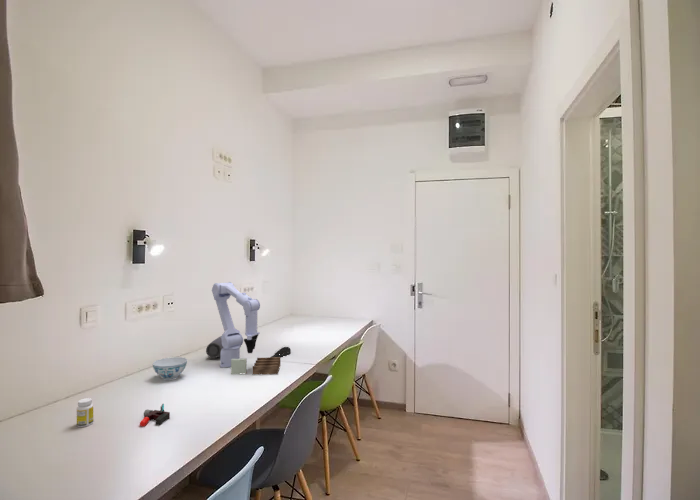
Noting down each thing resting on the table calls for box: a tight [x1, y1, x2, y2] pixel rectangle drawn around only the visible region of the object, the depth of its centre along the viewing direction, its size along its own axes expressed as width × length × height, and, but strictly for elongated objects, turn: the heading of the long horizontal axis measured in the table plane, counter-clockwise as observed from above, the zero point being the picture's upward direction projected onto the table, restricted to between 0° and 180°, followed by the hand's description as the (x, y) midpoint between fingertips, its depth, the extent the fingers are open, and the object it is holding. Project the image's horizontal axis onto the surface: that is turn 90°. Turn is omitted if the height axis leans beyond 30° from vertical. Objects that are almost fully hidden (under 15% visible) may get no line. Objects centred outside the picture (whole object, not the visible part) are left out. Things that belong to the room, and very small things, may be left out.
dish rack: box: [252, 356, 281, 375], centre depth 195 cm, size 12×15×4 cm
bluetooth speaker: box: [205, 335, 224, 359], centre depth 223 cm, size 23×9×10 cm, turn 179°
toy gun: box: [139, 403, 171, 428], centre depth 137 cm, size 10×12×5 cm
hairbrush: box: [270, 345, 292, 358], centre depth 218 cm, size 8×4×25 cm
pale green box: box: [230, 358, 248, 375], centre depth 189 cm, size 7×2×7 cm, turn 95°
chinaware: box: [151, 356, 188, 381], centre depth 182 cm, size 15×15×8 cm
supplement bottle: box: [76, 397, 94, 428], centre depth 134 cm, size 5×5×8 cm
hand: (251, 351), depth 193 cm, fingers open, 7 cm apart
